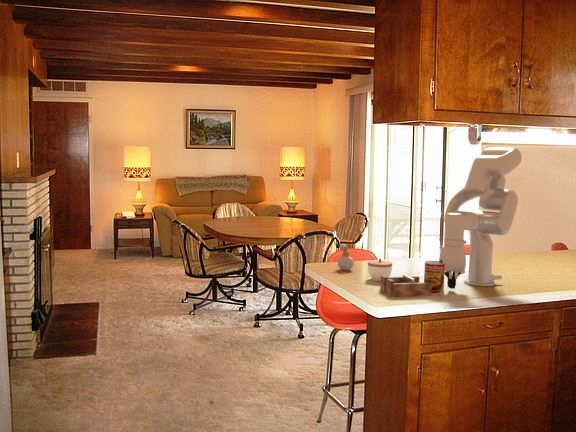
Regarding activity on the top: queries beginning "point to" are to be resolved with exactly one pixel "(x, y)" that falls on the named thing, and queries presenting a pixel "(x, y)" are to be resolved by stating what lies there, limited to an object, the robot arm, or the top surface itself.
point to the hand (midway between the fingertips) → (451, 287)
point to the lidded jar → (379, 269)
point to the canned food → (435, 275)
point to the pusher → (408, 279)
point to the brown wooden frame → (404, 287)
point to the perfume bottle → (345, 259)
